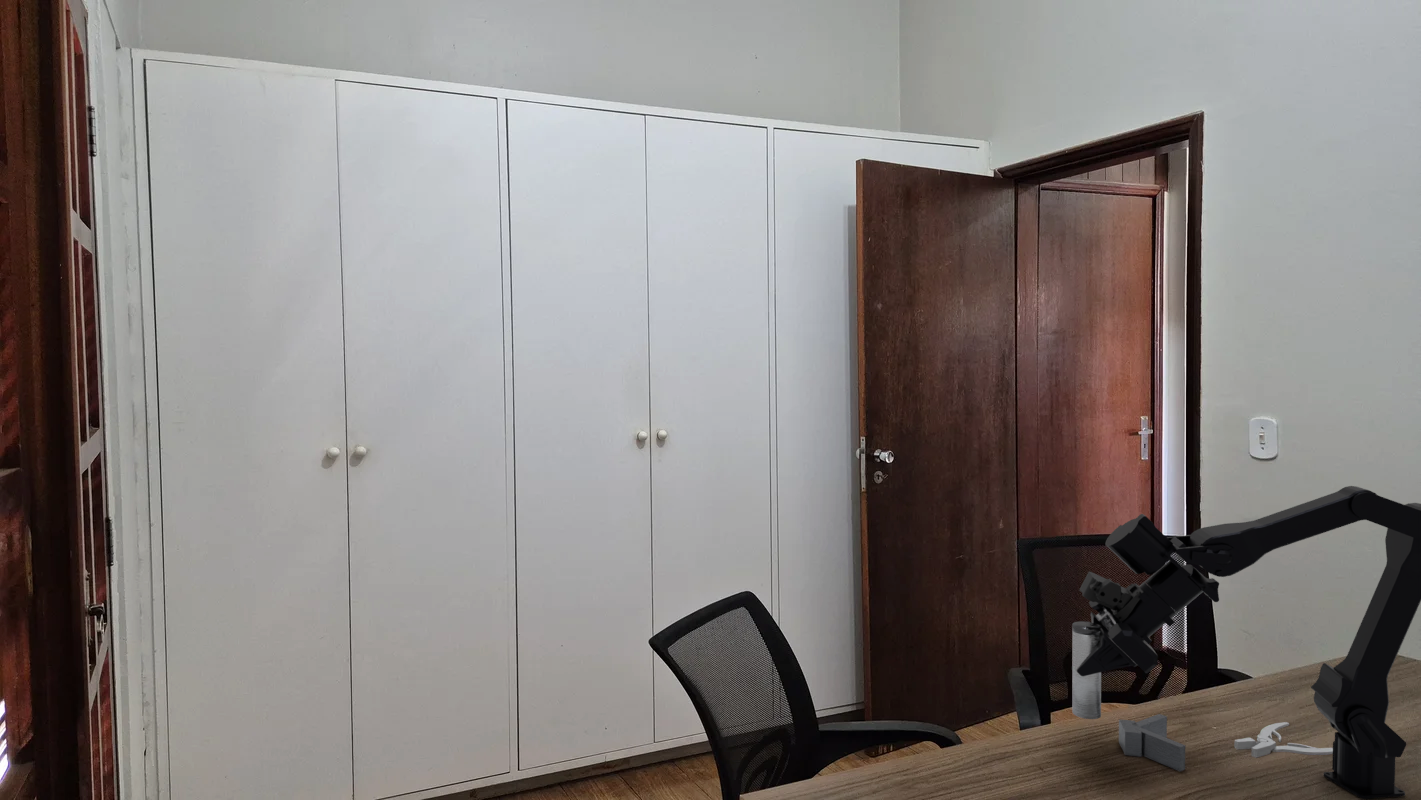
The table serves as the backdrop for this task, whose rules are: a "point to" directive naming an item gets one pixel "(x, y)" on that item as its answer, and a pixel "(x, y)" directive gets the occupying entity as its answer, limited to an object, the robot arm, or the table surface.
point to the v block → (1151, 741)
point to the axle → (1089, 686)
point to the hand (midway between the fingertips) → (1076, 668)
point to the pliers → (1268, 745)
